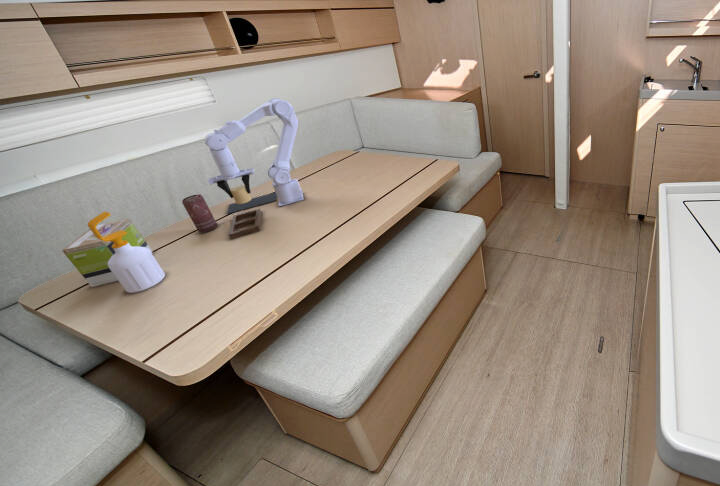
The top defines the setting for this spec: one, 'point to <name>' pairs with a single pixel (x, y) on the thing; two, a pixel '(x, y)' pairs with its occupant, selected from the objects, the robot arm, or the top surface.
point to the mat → (252, 203)
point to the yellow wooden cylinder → (240, 194)
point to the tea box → (101, 251)
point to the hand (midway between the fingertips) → (240, 194)
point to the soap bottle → (129, 260)
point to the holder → (245, 223)
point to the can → (199, 213)
